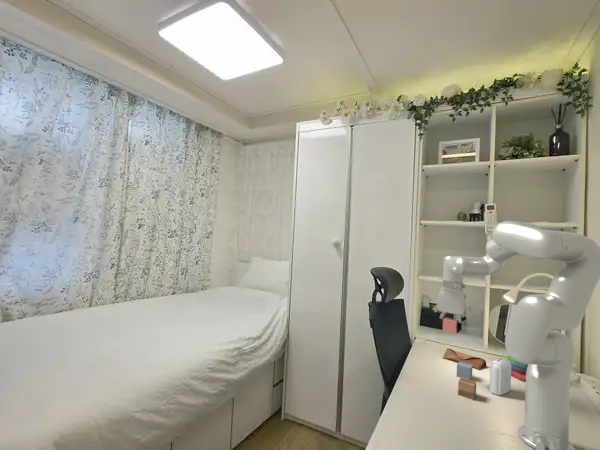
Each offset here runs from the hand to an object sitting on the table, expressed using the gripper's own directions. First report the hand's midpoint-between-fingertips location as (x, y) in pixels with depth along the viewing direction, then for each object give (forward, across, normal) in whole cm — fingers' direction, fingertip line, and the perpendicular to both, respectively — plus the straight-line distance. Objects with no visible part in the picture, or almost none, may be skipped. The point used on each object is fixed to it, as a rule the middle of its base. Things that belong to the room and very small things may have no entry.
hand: (450, 329), depth 120 cm
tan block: (+21, -8, +8) cm, 23 cm away
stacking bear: (+21, -22, -32) cm, 44 cm away
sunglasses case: (+21, 0, -29) cm, 36 cm away
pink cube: (+1, 0, 0) cm, 1 cm away
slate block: (+21, -4, -10) cm, 23 cm away
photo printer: (+21, -17, -6) cm, 27 cm away
